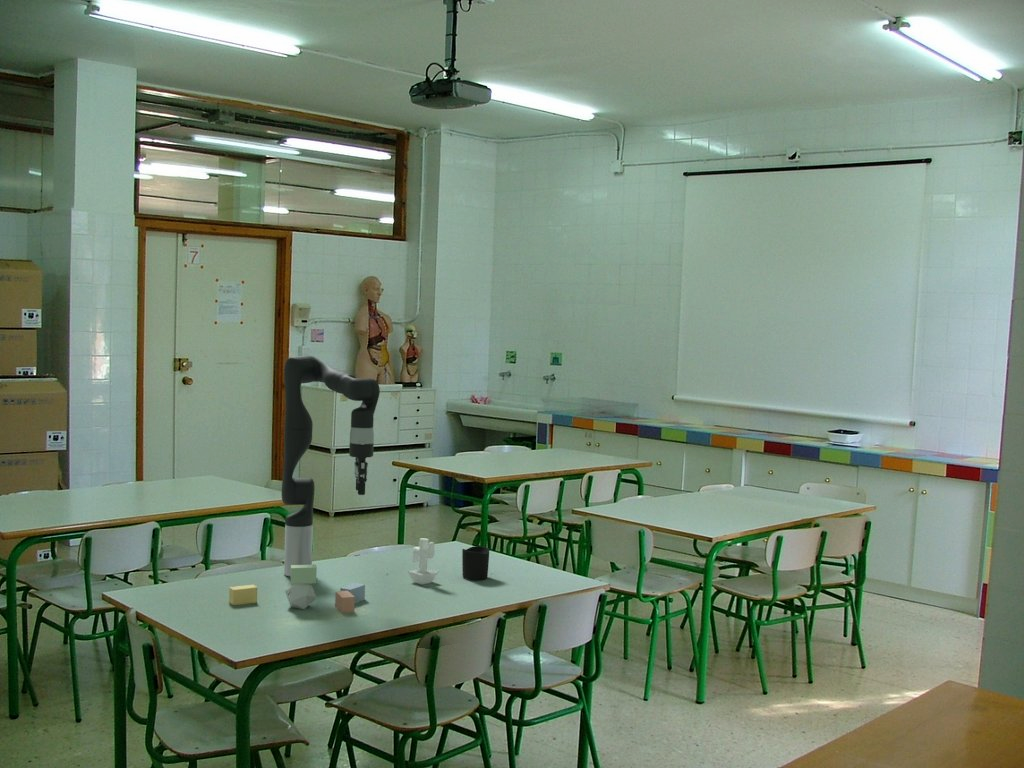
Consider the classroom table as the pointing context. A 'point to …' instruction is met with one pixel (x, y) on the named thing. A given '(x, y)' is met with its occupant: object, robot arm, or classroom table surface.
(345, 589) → the slate brick
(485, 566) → the pen holder
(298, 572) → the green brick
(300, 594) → the die
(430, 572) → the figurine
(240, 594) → the ochre brick
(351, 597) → the terracotta brick
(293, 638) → the classroom table surface
